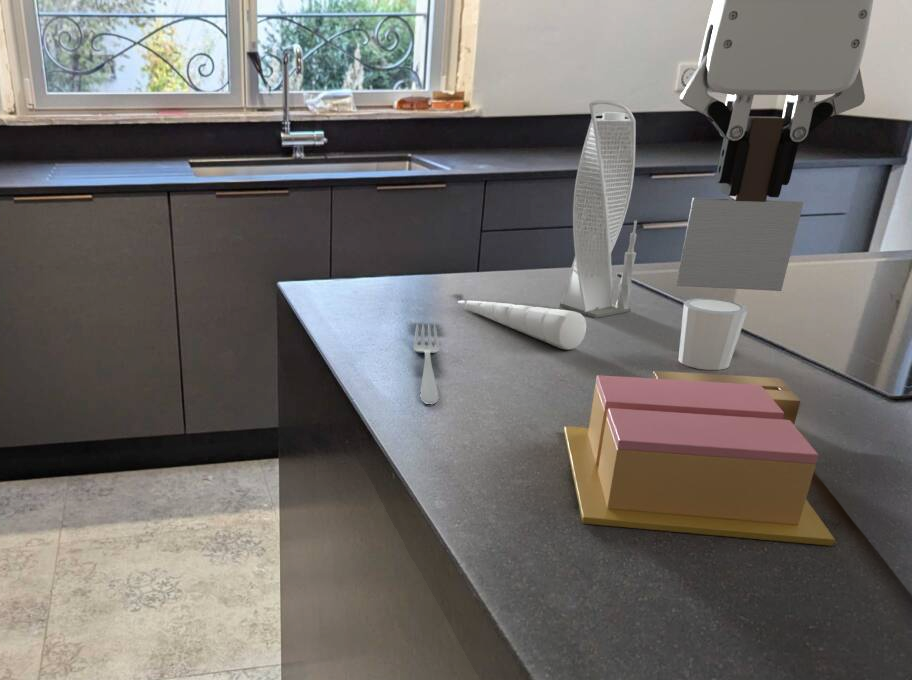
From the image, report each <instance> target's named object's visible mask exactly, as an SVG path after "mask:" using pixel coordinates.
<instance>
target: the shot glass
mask: <svg viewBox="0 0 912 680" xmlns="http://www.w3.org/2000/svg"><path fill="white" fill-rule="evenodd" d="M748 311H749V310H748V307H747V306H746V305H744V304H742V303H739V302H735V301H731V300H726V299H722V298H721V299H720V298H705V297H701V298H697V297H696V298H689V299H687V300H684V301H683V308H682V317H681V318H682V320H681V329H680V339H679V351H678V362H679V363H680V364H682V365H684V366H686V367H689V368H694V369H698V370H707V371H721V370H726V369H728V368H730V365H731V363H732V362H731V361H732V359H733V356H734V352H735V349H736V347H737V344H738V341H739V337H740V335H741V332H742V329H743V325H744V322H745V320H746V316H747V314H748Z"/></svg>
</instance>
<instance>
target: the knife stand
mask: <svg viewBox="0 0 912 680" xmlns="http://www.w3.org/2000/svg"><path fill="white" fill-rule="evenodd" d="M651 378H653V379H670V380H687V381H704V382H720V383H737V384H754V385H761V386H762V387H763V388H764V389H765V391H766V392H767V393H768V394H769V395H770V397H771V398H772V399H773V400H774V401H775V403H776V404H777V405H778V406H779V407H780V409H781V410H782V411H783V412H784V416H783V420H790V421H791V422H792V423H793V424H794V425H795V423H796V420H797V417H798V413H799V410H800V405H801V403H802V402H801V399H800V398H799V397H798V396H797V395H796V394H795V392H793V390H792V389H791V388H790V387H789V386H788V385H787V384H786V383H785V382H784V381H783V379H782V378H780V377H767V376H750V375H734V374H733V375H732V374H716V373H715V374H714V373H700V372H699V373H698V372H683V371H681V372H679V371H664V370H653V372H652V376H651Z"/></svg>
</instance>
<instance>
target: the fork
mask: <svg viewBox="0 0 912 680" xmlns="http://www.w3.org/2000/svg"><path fill="white" fill-rule="evenodd" d="M420 332H421V333H420V344H418V342H419V323H416V327H415V332H414V340H413V347H414V348H413V351H415V353H421V354H422V353H424V364H423V370H422V371H423V372H422V378H421V386H420V392H421V394H420V393H419V398H420V397H422V398H421V399H424V400H423V401H425V402H428V403H429V404H430V403H432V404H434V403H436V402H437V401H438V402H439V400H440V397H439V391H438V387H437V382H436V379H435V378H436V377H435V373H434V370H433V365H432V358H431V354H437V353H438V352H439V351H440V345H439V341H438V340H439V339H438V333H437V332H438V331H437V326H436V324H435V323H434V324H433V339H434V345H433V344H432V332H431V324H430V323H428V324H427V344H425V324H424V323H422V325H421V331H420ZM421 399H420V400H421ZM438 399H439V400H438ZM438 402H437V403H438ZM437 403H436V404H437Z"/></svg>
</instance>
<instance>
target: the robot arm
mask: <svg viewBox="0 0 912 680" xmlns="http://www.w3.org/2000/svg"><path fill="white" fill-rule="evenodd" d="M873 4H874V0H713V1H712V5H711V9H710V12H709V17H708V20H707V25H706V29H705V33H704V36H703V37H704V38H703V41H702V45H701V48H700V49H701V50H700V55H699V58H698V65H697V67H696V69H695V70H694V73H693V74H692V75H691V77H690V79H689V80H688V82H687V84H686V86H684V88H683V90H682V92H681V93H680V96H679V101H680V103H681V104H682V105H684V106H687V107H688V108H690V109H692V110H694V111H696V112H698V113H700V114H702V115H705V116H706V117H707V119H708V120H709V121H710V123H711V124H712V125H713V126H714V128H715V129H716V130H717V131H718V133H719V135H720V137H721V138H723V139H722V145H721V148H720V149H721V150H720V153H719V159H718V164H717V168H716V173H715V182H716V183H717V184H720V192H721V193H722V194H724V195H725V196H727V197H730V196H736V195H738V194H739V193H740V189H741V184H742V179H743V175H744V170H745V165H746V161H747V156H748V152H749V147H750V143H748V141H746V136H747V132H746V131H745V130H746V126H747V122H748V118H749V116H750V113H751V109H752V105H753V102H754V101H753V100H754V96H763V95H764V96H785V101H784V106H783V111H782V116H781V118H784V119H785V121H784V125H783V129H782V134H781V138H780V142H779V145H778V149H777V154H776V158H775V162H774V167H773V171H772V175H771V180H770V184H769V189H768V193H767V197H769V198H779V197H780V195H781V193H782V192H781V191H782V188H783V186H788V185H789V183H790V181H791V178H792V173H793V169H794V165H795V162H796V157H797V152H798V148H799V143H800V142H802V141H804V140H805V139H806V138H807V137H808V135H809V134H811V132H813V131H814V130H815V129H817V128H818V127H820V125H821V124H823V123H825V121H827V120H828V119H829V118H830V117H834V116H837V115H840V114H842V113H845V112H847V111H850V110H852V109H855V108H857V107H860V106H862V105H863V103H864V102H865V99H866V94H865V88H864V84H863V77H862V74H861V64H862V60H863V56H864V52H865V47H866V43H867V38H868V33H869V27H870V22H871V17H872V11H873ZM708 92H713V93H720V94H726V100H725V103H724V102H723V101H720V100H719V99H717V98H715V97H713V96H711V95H709V94H708ZM828 95H830V96H828ZM817 96H828V97H827V98H824V99H822V100H819V101H816V98H817Z"/></svg>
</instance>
